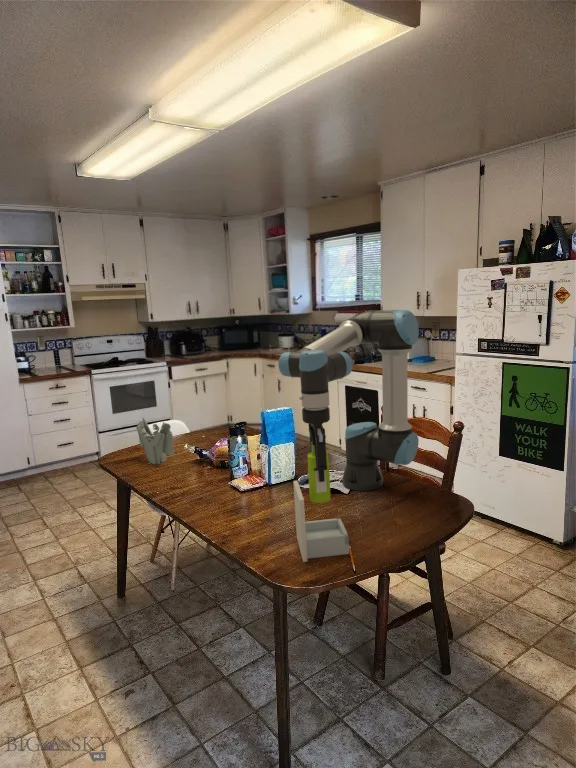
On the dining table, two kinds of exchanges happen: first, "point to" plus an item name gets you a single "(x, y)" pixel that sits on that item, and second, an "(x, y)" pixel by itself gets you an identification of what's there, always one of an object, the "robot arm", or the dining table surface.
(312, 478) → the soap dispenser
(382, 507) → the dining table surface
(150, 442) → the grey pronged sculpture
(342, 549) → the cup bracket
